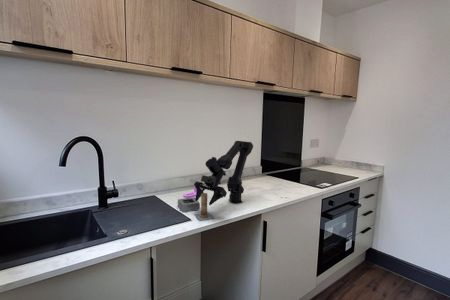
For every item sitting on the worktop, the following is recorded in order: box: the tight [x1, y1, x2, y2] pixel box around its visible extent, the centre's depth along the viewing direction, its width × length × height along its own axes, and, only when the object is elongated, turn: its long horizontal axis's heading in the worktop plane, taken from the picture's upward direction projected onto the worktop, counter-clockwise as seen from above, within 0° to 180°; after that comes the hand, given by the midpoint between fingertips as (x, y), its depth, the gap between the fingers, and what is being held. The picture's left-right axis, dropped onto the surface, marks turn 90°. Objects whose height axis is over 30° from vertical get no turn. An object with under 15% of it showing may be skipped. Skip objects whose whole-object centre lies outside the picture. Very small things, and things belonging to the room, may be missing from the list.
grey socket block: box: [177, 197, 201, 213], centre depth 138 cm, size 10×10×4 cm
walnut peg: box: [199, 192, 209, 218], centre depth 126 cm, size 5×5×12 cm
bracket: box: [183, 185, 197, 199], centre depth 160 cm, size 13×6×7 cm, turn 128°
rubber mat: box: [194, 211, 215, 222], centre depth 127 cm, size 8×8×1 cm
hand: (202, 202), depth 124 cm, fingers open, 9 cm apart
